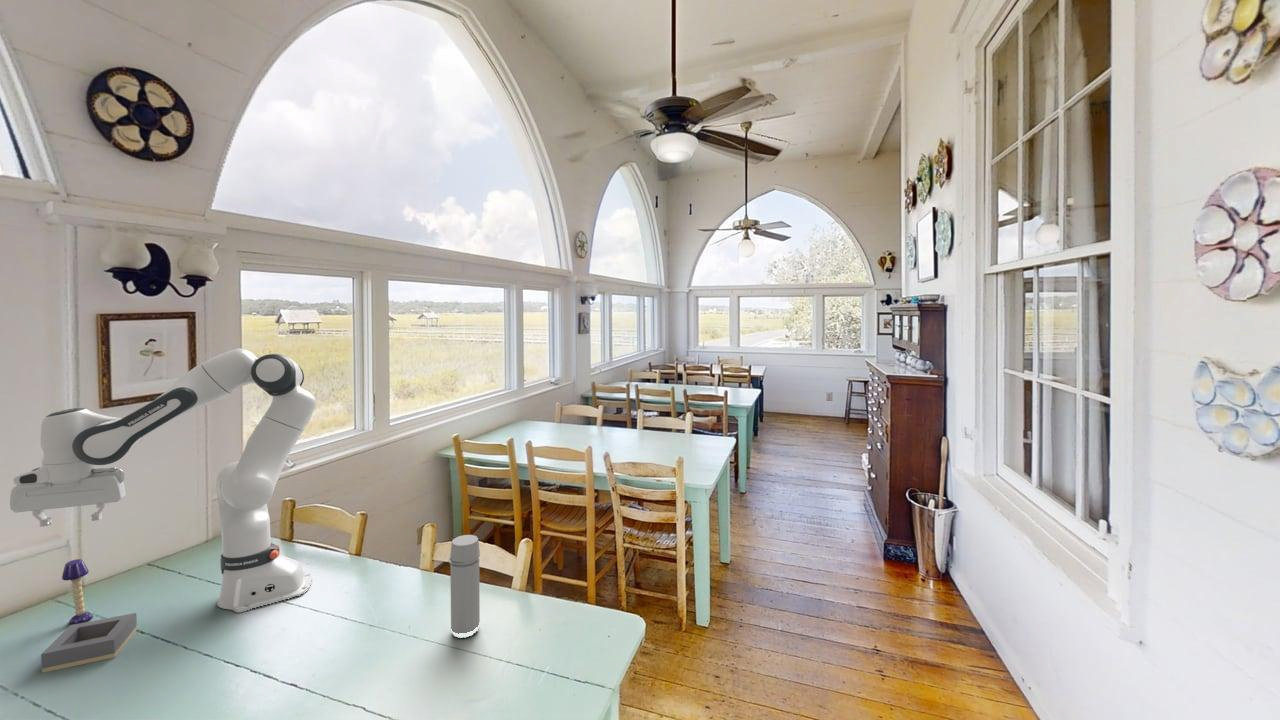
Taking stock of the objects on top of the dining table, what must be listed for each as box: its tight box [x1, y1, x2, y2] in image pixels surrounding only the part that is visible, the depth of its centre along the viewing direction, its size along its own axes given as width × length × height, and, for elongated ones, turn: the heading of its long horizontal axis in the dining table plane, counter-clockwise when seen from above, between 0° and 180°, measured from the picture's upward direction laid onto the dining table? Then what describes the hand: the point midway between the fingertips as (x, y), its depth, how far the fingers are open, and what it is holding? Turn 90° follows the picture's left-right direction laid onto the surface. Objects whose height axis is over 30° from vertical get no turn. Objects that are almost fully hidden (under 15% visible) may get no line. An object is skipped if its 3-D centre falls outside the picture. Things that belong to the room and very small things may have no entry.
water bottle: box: [447, 534, 481, 634], centre depth 130 cm, size 9×8×25 cm
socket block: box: [40, 612, 138, 673], centre depth 120 cm, size 12×12×4 cm
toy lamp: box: [61, 558, 94, 626], centre depth 131 cm, size 5×5×17 cm
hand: (72, 522), depth 129 cm, fingers open, 8 cm apart
